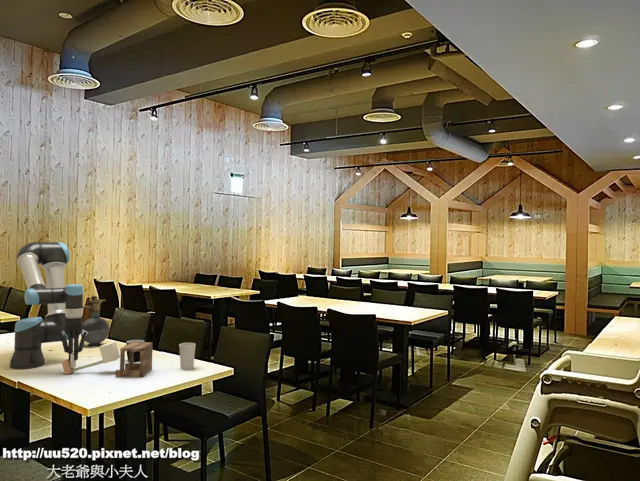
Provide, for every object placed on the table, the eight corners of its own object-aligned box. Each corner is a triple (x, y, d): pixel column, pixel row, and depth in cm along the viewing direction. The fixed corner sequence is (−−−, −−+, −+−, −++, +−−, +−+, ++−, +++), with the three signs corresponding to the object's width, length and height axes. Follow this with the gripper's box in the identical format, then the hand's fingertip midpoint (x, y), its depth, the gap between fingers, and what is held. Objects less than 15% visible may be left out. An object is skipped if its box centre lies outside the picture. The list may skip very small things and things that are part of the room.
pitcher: (111, 345, 305) (112, 295, 305) (80, 349, 290) (81, 297, 290) (102, 342, 312) (103, 294, 312) (71, 347, 297) (72, 296, 297)
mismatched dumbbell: (64, 374, 234) (60, 358, 234) (69, 371, 240) (65, 355, 240) (116, 359, 237) (111, 343, 237) (120, 357, 243) (115, 341, 243)
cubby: (115, 377, 232) (116, 348, 232) (125, 369, 247) (126, 342, 247) (142, 377, 232) (143, 348, 233) (151, 369, 247) (152, 342, 248)
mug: (128, 363, 259) (128, 343, 259) (123, 360, 266) (124, 340, 267) (151, 360, 266) (152, 341, 266) (147, 357, 273) (147, 338, 273)
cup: (180, 370, 246) (181, 346, 246) (177, 367, 253) (177, 343, 253) (196, 369, 249) (197, 345, 249) (193, 365, 256) (193, 342, 256)
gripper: (56, 318, 234) (55, 369, 234) (84, 318, 235) (84, 368, 234) (63, 316, 242) (62, 365, 241) (90, 316, 242) (90, 365, 242)
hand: (73, 367), depth 238 cm, fingers closed
